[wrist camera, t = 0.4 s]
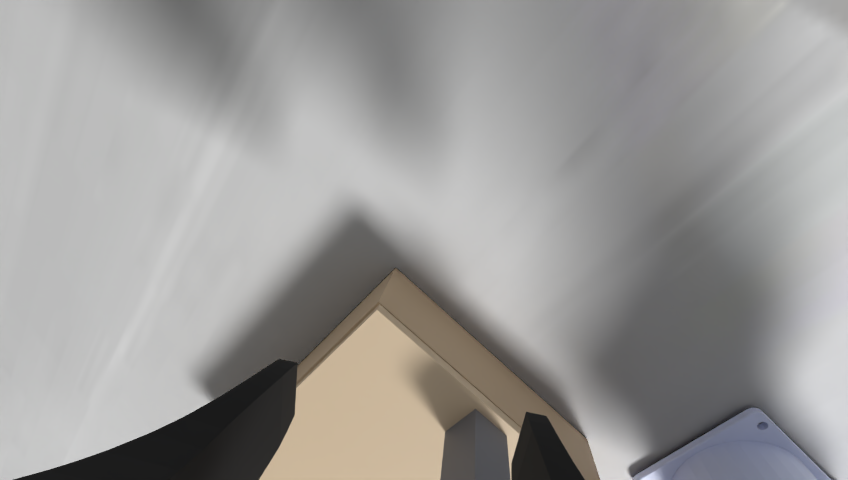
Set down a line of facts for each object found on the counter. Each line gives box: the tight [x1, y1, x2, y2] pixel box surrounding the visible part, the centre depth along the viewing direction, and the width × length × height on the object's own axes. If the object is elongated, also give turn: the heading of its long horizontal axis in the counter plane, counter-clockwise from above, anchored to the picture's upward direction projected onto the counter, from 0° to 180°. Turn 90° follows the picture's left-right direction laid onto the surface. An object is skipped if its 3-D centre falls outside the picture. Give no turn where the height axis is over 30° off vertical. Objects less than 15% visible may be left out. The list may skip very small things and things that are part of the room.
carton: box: [296, 268, 600, 480], centre depth 24 cm, size 15×16×4 cm
